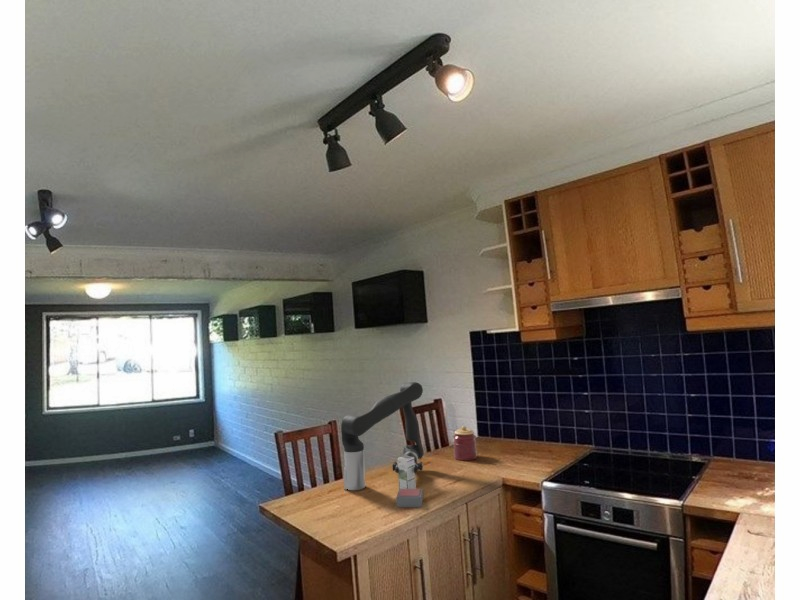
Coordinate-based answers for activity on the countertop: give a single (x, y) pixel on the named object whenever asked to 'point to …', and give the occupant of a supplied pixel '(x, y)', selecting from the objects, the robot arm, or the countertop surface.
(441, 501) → the countertop surface
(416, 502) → the display plinth
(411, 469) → the syrup box
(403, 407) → the robot arm
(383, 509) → the countertop surface
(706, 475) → the countertop surface
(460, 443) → the canister
